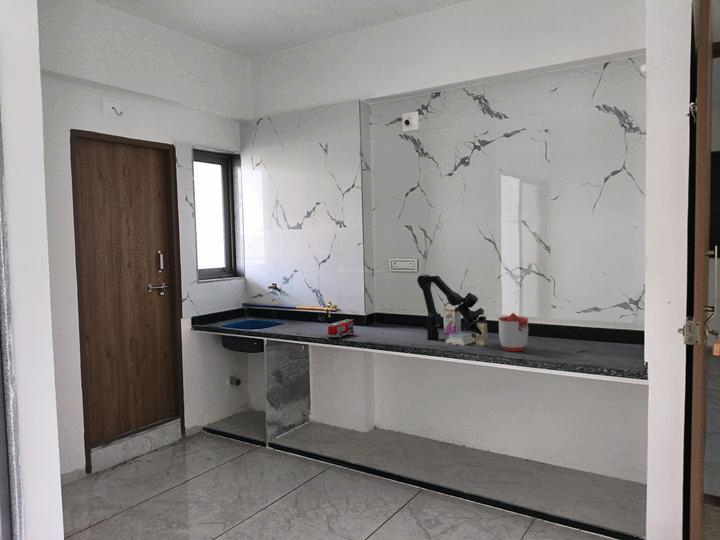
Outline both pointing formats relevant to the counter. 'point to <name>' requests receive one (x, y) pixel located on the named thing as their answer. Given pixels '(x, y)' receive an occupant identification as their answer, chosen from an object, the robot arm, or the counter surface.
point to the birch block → (482, 339)
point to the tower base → (460, 338)
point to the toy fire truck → (341, 329)
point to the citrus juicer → (513, 332)
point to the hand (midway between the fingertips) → (483, 333)
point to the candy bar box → (451, 320)
